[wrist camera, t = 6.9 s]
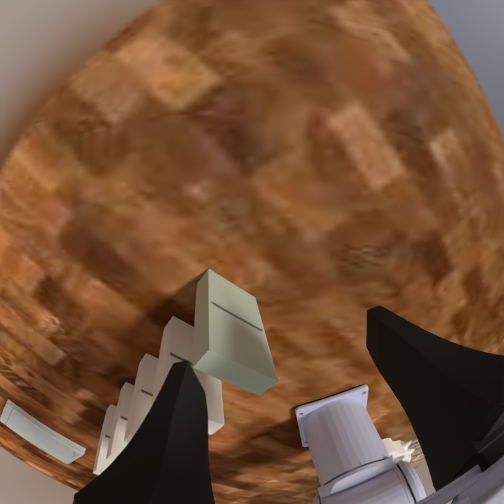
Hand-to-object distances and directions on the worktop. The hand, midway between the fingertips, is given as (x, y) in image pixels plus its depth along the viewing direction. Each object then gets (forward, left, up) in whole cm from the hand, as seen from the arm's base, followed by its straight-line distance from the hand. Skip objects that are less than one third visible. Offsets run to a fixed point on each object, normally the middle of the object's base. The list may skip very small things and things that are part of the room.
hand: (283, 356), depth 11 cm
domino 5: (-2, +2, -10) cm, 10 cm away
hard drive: (-18, +34, -10) cm, 40 cm away
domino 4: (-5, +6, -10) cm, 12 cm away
